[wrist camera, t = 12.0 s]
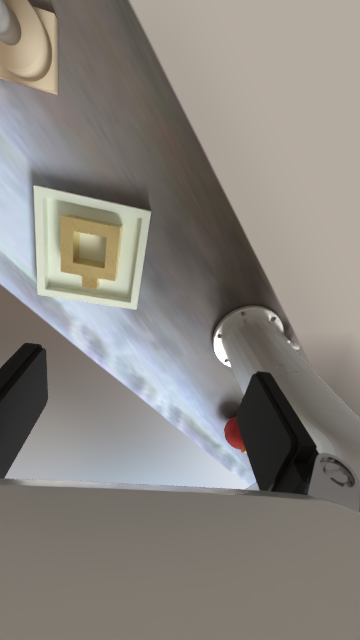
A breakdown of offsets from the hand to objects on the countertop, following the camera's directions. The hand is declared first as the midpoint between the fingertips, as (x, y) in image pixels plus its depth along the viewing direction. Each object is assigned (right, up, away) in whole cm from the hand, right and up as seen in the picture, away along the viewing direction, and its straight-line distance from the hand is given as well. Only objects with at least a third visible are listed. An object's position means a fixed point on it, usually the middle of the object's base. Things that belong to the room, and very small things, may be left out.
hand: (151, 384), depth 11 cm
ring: (-10, +13, +23) cm, 29 cm away
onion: (+13, -18, +43) cm, 48 cm away
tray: (-11, +13, +24) cm, 29 cm away
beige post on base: (-15, +31, +14) cm, 37 cm away
